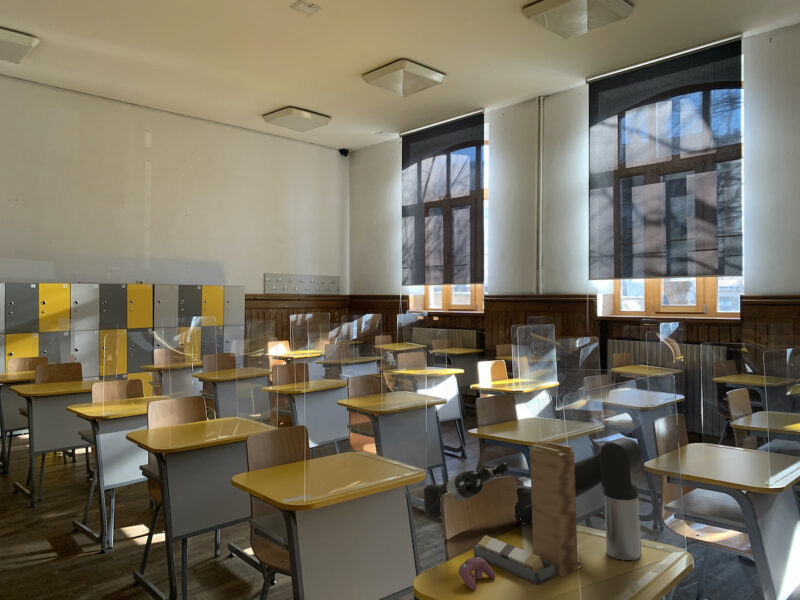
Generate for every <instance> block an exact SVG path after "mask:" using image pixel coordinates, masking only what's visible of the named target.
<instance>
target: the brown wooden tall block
mask: <svg viewBox="0 0 800 600" xmlns="http://www.w3.org/2000/svg"><path fill="white" fill-rule="evenodd" d="M529 459H530V460H529V464H530V487H531V497H532V522H531V523H532V545H533V547H532V548H533V550H532V551H533V552H532V554H535V555H537V556H540V558H541V559H544V560H546V561H549V562H551V563H554V564H556V565H557V576H559V577H561V578H562V577H565V576H566V575H568V574H570V573H573V572H575V571H577V570H578V569H577V568H578V567H579V566H582V567H583V563H582V562H580V561H579V558H578V557H579V556H578V555H579V554H578V533H577V505H576V504H577V502H576V501H577V500H576V499H577V497H575V469H574V463H575V452H574V451H573V447H572V446H569V445H564V444H559V443H555V442H550V441H544V442H543V446H541V445H537V444H536V445H535V444H531V450H530V451H529ZM576 569H577V570H576Z"/></svg>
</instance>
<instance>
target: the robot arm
mask: <svg viewBox="0 0 800 600" xmlns="http://www.w3.org/2000/svg"><path fill="white" fill-rule="evenodd" d="M642 456H643V452H642V448H641V446H640V445H639V443H638V442H637V441H635V440H634V439H632V438H627V437H619V438H616V439H613V440H610V441H608V442H606V443H603V445H602V446H601V448H600V450H599V453H597V454H595V455H592V456H589V457H588V458H587V457H586V458H585V459H582V460H579V461H576V462H574V469H575V497H576V498H578V497H580V496H582V495H584V494H585V493H587V492H589V491H590V490H592V489H593V488H596V487H597V486H598V485H600V484H601V485H602V488H603V491H604V516H605V517H604V519H605V522H604V523H605V546H606V547H605V548H606V554H607V555H608V557H610V556H611V558H612V557H613V558H612V559H614V558H617V559H616V560H618V559H621V560H620V561H624V560H632V561H637V560H639V559H640V558H641V554H642V535H641V533H642V532H641V529H642V528H641V520H640V513H639V511H640V510H639V509H640V508H639V488H638V487H637V485H636V484H634V483H632V478H631V477H632V476H631V475H632V474H631V470H634V469H635V468H637V466H639V464H640V462H641V461H642ZM507 471H509V467H508V465H507V463H506V462H503V463H501V464H499V465H498V466H497V465H496V466H495V467H493V468H491V467H488V468H487V467H485V468H482V469H481V470H479V471H478V470H477V471H475V470H473V469H466V470H464V471H463V472H460V473H459V474H457V475H455V476H453V477H452V478H451V479H450V480H448V481H446V482H444V483H442V484H437V483H431V484H430V483H429V484H428V485H426V486H425V487H424V489H423V503H424V504H423V505H424V513H425V514H426V516H427V517H429V518H430V519H439V518H442V517H441V512H440V498H441V495H443V494H445V493H448V492H449V491H451V492H450V493H451V494H452V496H453V497H454V499H456V500H458V501H463V500H466V499H468V498H470V497H472V496H474V495H476V494H478V493H479V492H480V491H482V489H483V485H486V484H488V482H491V481H493V480H495V479H496V478H499V477H500V476H501V477H502V476H504V474H505V472H507ZM515 487H516V486H515ZM457 488H458V489H457ZM516 488H518V489H517V495H518V502H517V503H516V506H515V518H516V520H517V521H518V522H519V524H529V523H532V497H531V485H530V486H528V485H517V487H516ZM452 490H453V491H452ZM515 491H516V490H515ZM452 492H453V493H452ZM515 518H514V519H515ZM520 518H521V520H520ZM516 520H515V521H516ZM517 521H516V522H517ZM518 522H517V523H518Z"/></svg>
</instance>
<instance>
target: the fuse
mask: <svg viewBox="0 0 800 600" xmlns="http://www.w3.org/2000/svg"><path fill="white" fill-rule="evenodd" d="M477 545H479V547H481V548H483V549H485V550H488V551H490V552H492V553H495V554H497V555H499V556H501V557H504V558H506V559H508V560H511V561H513V562H515V563H518V564H520V565H522V566H525V567H527V568H529V569H532V570H534V571H536V572H537V571H540V570H541V569H542V568H543V567H544V566H543V564H542V561H541V559H540V556H537V555H535V554H533V552H530V551H527V550H524V549H522V548H520V547H516V546H514V545H511V544H509V543H507V542H504V541H501V540H500V539H496V538H494V537H491V536H489V535H487V534H486V535H484V536H483V537H482V539H480V540H479V542H477Z"/></svg>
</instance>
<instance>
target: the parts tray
mask: <svg viewBox="0 0 800 600" xmlns="http://www.w3.org/2000/svg"><path fill="white" fill-rule="evenodd" d="M473 554H474V555H473V556H474V557H482V559H484V560H485V561H486V562H487V564H490V565H493V566H495V567H496V568H499V569H501V570H503V571H505V572H507V573H510V574H512V575H514V576H517V577H519V578H521V579H523V580H525V581H528V582H530V583H532V584H534V585H536V586H540V585H541V584H543V583H545V582H547V581H549V580H552V579H554V578H555V577H558V575H557V565H556V564H554V563H551V562H549V561H546V560H544V559H541V558H540V559H541V561H542V564H543V566H544V567H543V568H542V569H541V570H540V571H537V572H536V571H534V570H532V569H529V568H527V567H525V566H522V565H520V564H518V563H515V562H513V561H511V560H508V559H506V558H504V557H501V556H499V555H497V554H495V553H492V552H490V551H488V550H485V549H483V548H481V547H479V545H478V544H476V545H474V546H473Z"/></svg>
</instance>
